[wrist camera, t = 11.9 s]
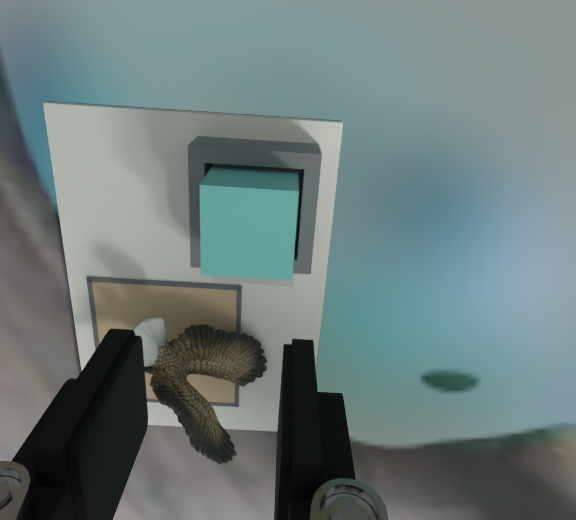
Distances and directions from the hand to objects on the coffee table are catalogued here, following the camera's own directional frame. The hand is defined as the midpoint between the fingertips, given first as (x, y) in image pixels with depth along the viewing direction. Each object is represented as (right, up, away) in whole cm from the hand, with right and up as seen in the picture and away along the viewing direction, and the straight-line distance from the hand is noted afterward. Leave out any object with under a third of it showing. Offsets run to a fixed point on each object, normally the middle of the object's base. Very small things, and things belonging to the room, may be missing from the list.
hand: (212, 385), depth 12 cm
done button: (0, +6, +13) cm, 14 cm away
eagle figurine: (-4, -3, +19) cm, 20 cm away
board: (-4, +1, +18) cm, 19 cm away
